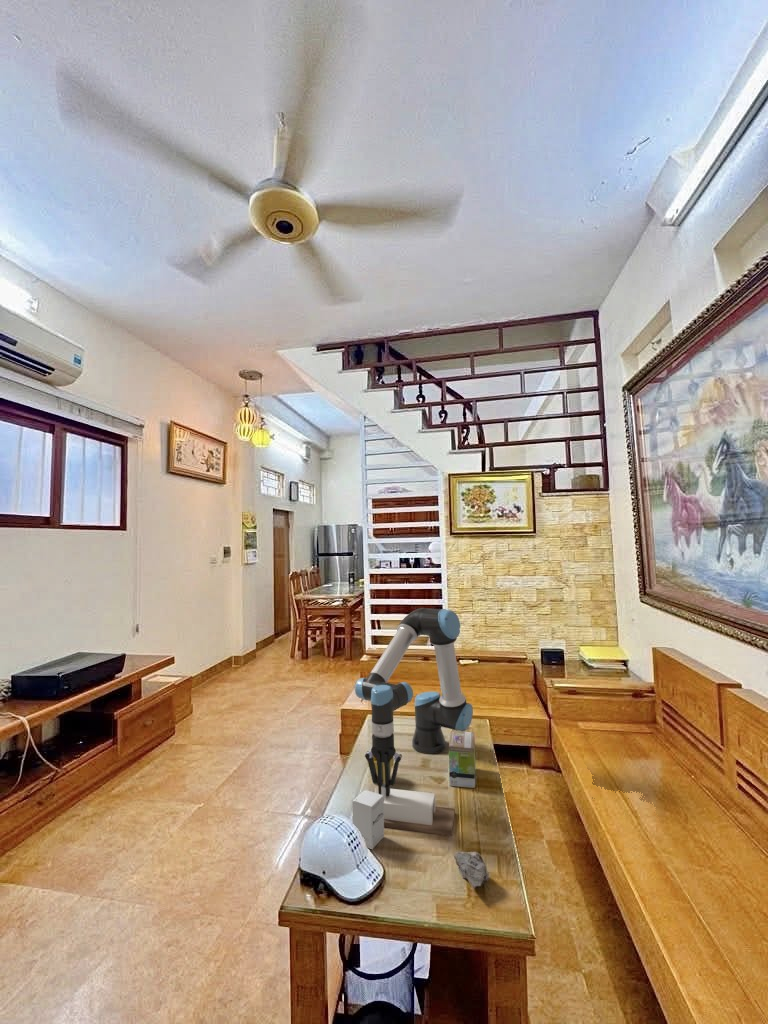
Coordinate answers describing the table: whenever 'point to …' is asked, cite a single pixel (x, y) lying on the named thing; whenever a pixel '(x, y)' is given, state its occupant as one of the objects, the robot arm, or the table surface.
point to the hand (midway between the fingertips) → (384, 805)
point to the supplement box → (369, 816)
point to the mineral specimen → (472, 867)
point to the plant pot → (383, 767)
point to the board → (440, 825)
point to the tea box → (462, 759)
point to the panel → (410, 806)
